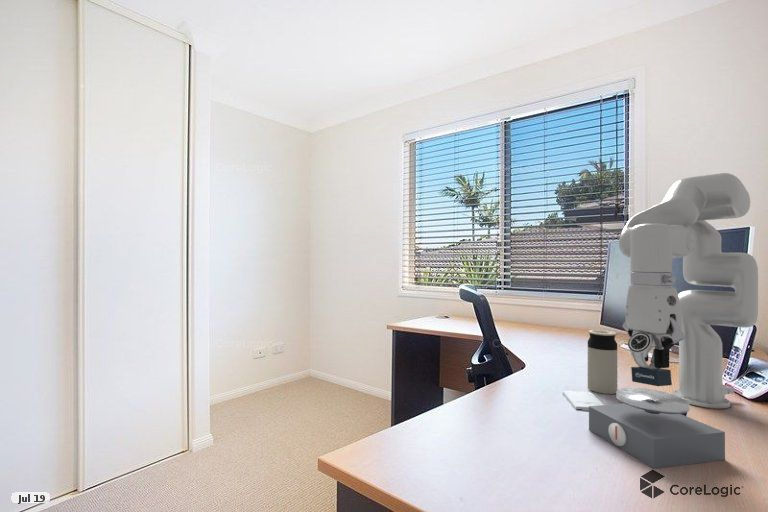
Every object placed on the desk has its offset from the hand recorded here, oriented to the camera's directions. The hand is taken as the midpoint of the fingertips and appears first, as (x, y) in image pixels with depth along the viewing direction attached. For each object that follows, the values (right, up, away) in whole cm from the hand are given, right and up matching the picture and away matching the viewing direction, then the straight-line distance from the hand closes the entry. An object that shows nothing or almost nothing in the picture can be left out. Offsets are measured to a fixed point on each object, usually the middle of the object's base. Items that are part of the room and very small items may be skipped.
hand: (651, 363), depth 83 cm
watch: (-1, -4, -1) cm, 4 cm away
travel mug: (+9, -18, +34) cm, 40 cm away
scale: (0, -17, 0) cm, 17 cm away
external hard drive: (-2, -19, +24) cm, 30 cm away
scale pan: (0, -10, 0) cm, 10 cm away
